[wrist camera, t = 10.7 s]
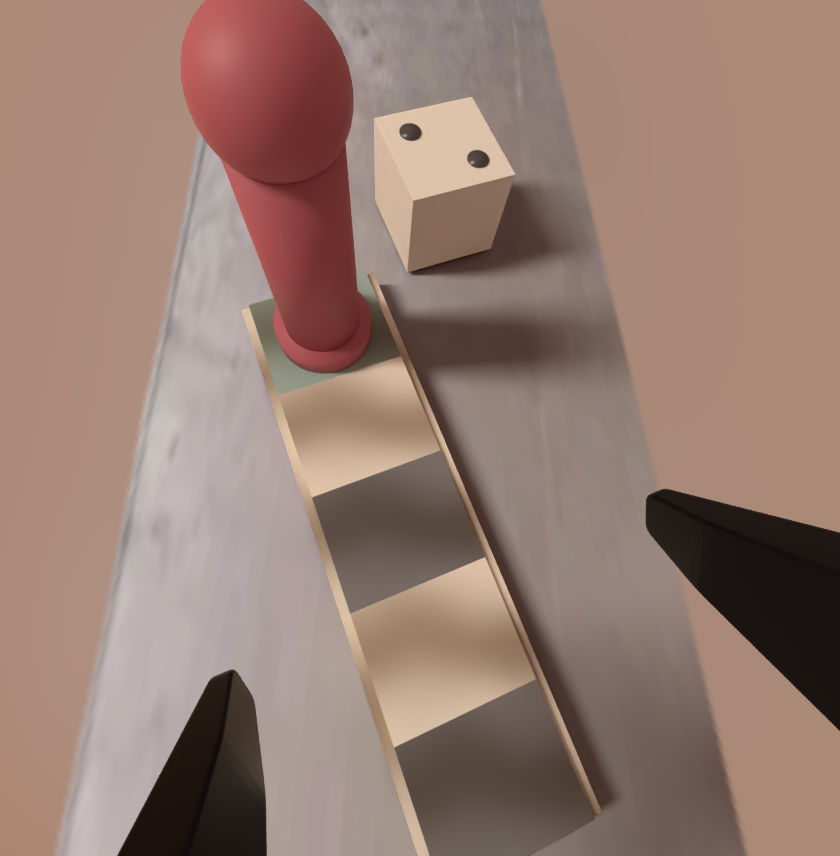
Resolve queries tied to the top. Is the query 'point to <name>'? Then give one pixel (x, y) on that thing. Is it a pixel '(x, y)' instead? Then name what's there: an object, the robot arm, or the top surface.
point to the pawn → (285, 162)
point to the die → (439, 182)
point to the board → (424, 603)
